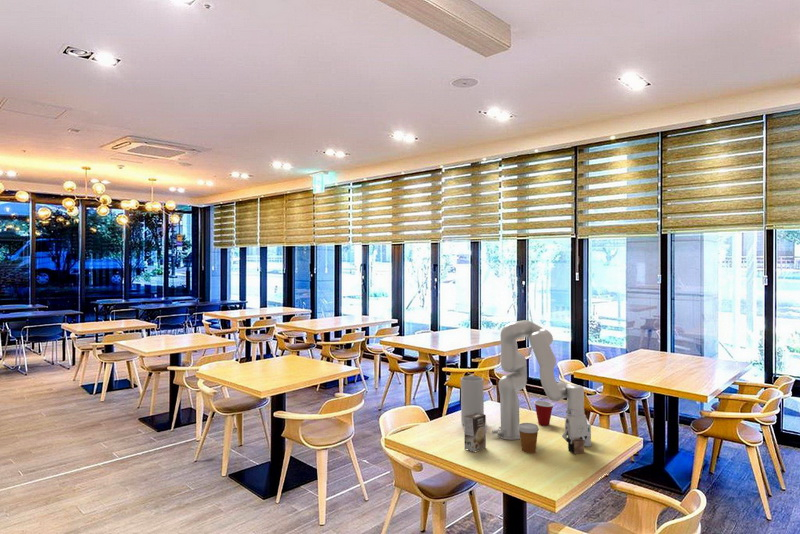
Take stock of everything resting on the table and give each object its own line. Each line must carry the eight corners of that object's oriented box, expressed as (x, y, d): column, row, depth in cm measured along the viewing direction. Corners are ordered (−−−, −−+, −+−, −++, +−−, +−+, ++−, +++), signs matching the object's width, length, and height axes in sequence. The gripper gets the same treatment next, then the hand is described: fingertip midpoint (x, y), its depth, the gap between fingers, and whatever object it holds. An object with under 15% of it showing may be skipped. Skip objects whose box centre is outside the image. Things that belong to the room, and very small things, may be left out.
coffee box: (474, 452, 232) (474, 418, 232) (464, 449, 237) (463, 416, 237) (486, 447, 239) (486, 414, 239) (475, 444, 243) (475, 411, 243)
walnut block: (575, 454, 229) (575, 441, 229) (568, 450, 234) (568, 438, 234) (584, 453, 231) (584, 440, 231) (577, 449, 235) (576, 436, 235)
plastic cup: (557, 427, 268) (556, 405, 268) (537, 427, 268) (536, 405, 268) (551, 421, 279) (550, 399, 279) (531, 421, 279) (531, 400, 279)
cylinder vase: (459, 420, 282) (458, 376, 282) (480, 419, 283) (479, 375, 284) (464, 427, 270) (463, 381, 270) (486, 426, 271) (486, 380, 271)
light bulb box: (591, 446, 238) (591, 424, 238) (576, 446, 240) (576, 423, 240) (587, 439, 249) (587, 417, 249) (573, 438, 250) (573, 417, 250)
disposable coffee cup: (528, 456, 227) (527, 430, 228) (514, 449, 236) (513, 424, 236) (543, 452, 232) (543, 426, 232) (529, 446, 240) (529, 421, 240)
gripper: (565, 416, 226) (566, 455, 226) (596, 412, 231) (596, 450, 231) (555, 411, 233) (556, 450, 233) (585, 407, 239) (585, 445, 238)
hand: (576, 450), depth 232 cm, fingers open, 5 cm apart
